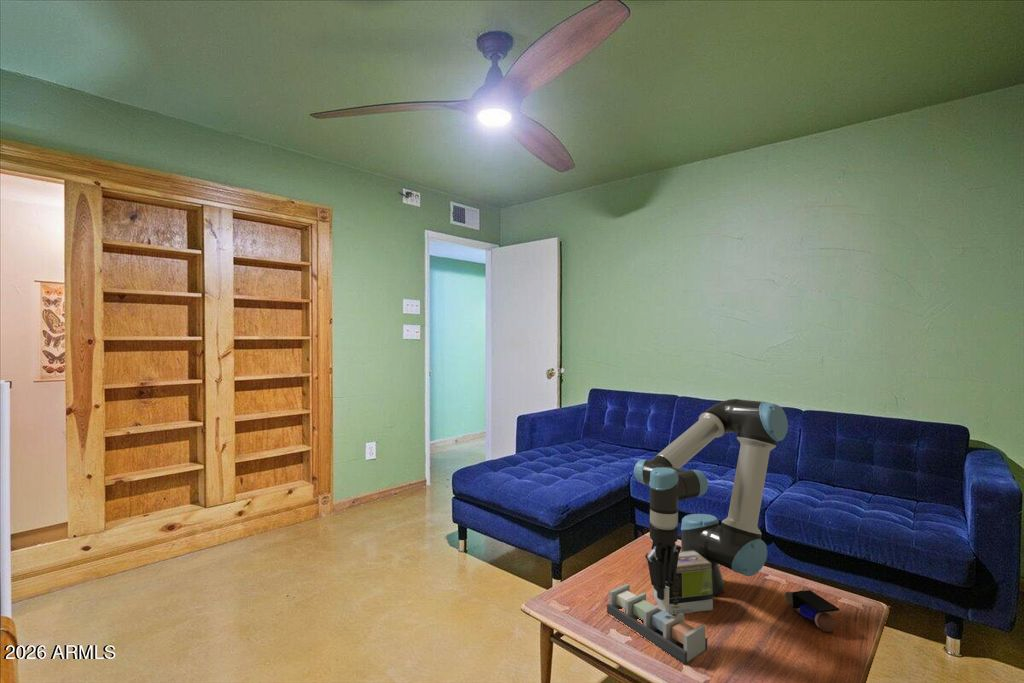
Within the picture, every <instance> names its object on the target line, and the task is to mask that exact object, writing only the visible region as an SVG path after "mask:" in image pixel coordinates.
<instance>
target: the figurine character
mask: <svg viewBox="0 0 1024 683" xmlns="http://www.w3.org/2000/svg"><path fill="white" fill-rule="evenodd" d="M784 597H785V600H786V602H787V603H788V604H789V605H792V608H793V611H795V612H796V613H798V615H799V614H800V615H801V616H802V617H805V618H807V619H809V620H811V621H814V623H815V625H816V627H817V628H818V629H820V630H821V631H823V632H824V633H830V632H833V631H834V630H835V628H836V626H837V625H836V620H835V618H834V617H833V616H832V615H831V614H830V613H832V612H838V611H840V608H839V607H837V606H836V605H835V604H833V603H831V602H830V601H828V600H827V599H825V598H823V597H822V596H820V595H818V594H817V593H815V592H813V590H810V589H809V590H799V591H786V592H785V593H784Z"/></svg>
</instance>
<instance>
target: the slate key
mask: <svg viewBox="0 0 1024 683" xmlns="http://www.w3.org/2000/svg"><path fill="white" fill-rule="evenodd" d="M673 617H674V615H670V614H668V613H667V612H664V611H662V610H661V611H659V612H657V613H655V614H653V615H652V626H654V627H655V628H657V629H659V630H660V631H662V632H663V622H665V621H667V620H669V619H671V618H673Z"/></svg>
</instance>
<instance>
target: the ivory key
mask: <svg viewBox="0 0 1024 683" xmlns="http://www.w3.org/2000/svg"><path fill="white" fill-rule="evenodd" d="M634 596H637V594H635V593H633V592H631V591H630V592H629V591H627V590H626V591H623V592H621V593H619V594H617V595H616V604H617V605H619V606H621V607H622V608H624V609H625V601H626V600H628V599H630V598H632V597H634Z"/></svg>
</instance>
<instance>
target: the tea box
mask: <svg viewBox="0 0 1024 683" xmlns="http://www.w3.org/2000/svg"><path fill="white" fill-rule="evenodd" d="M671 576H672V575H671ZM671 584H673V585H674V586H673V587H670V596H669V611H668V612H667V613H668V614H670V615H672V616H674V615H678V614H680V613H682V614H689V613H690V614H691V613H696V612H697V613H699V612H706V611H707V612H708V611H713V610H714V599H713V598H714V596H713V590H712V589H713V588H712V563H710V562H709V561H708V560H706V559H705V558H704V557H702V556H701V555H700V554H698V553H697V552H696V551H695V550H692V551H682V550H681V551H680V553H679V557H678V564H677V571H676V578H675V582H672V583H671ZM653 599H654V600H655V601H656V603H658V598H657V587H655V586H653Z"/></svg>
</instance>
